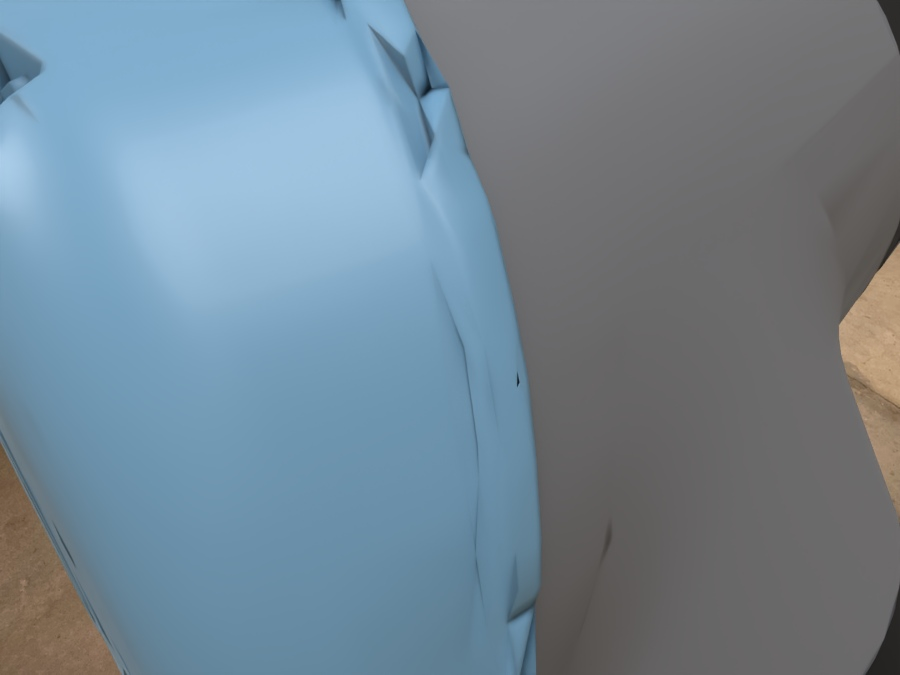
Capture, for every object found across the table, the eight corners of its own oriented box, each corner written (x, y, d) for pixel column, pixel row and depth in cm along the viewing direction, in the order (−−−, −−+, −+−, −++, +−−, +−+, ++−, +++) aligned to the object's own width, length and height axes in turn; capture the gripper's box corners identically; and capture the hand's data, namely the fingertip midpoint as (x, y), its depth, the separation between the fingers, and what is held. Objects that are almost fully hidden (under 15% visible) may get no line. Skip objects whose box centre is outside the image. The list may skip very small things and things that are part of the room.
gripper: (189, 292, 58) (424, 221, 67) (238, 393, 50) (495, 297, 60) (168, 221, 52) (426, 155, 62) (220, 322, 45) (505, 230, 54)
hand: (460, 225), depth 61 cm, fingers closed
